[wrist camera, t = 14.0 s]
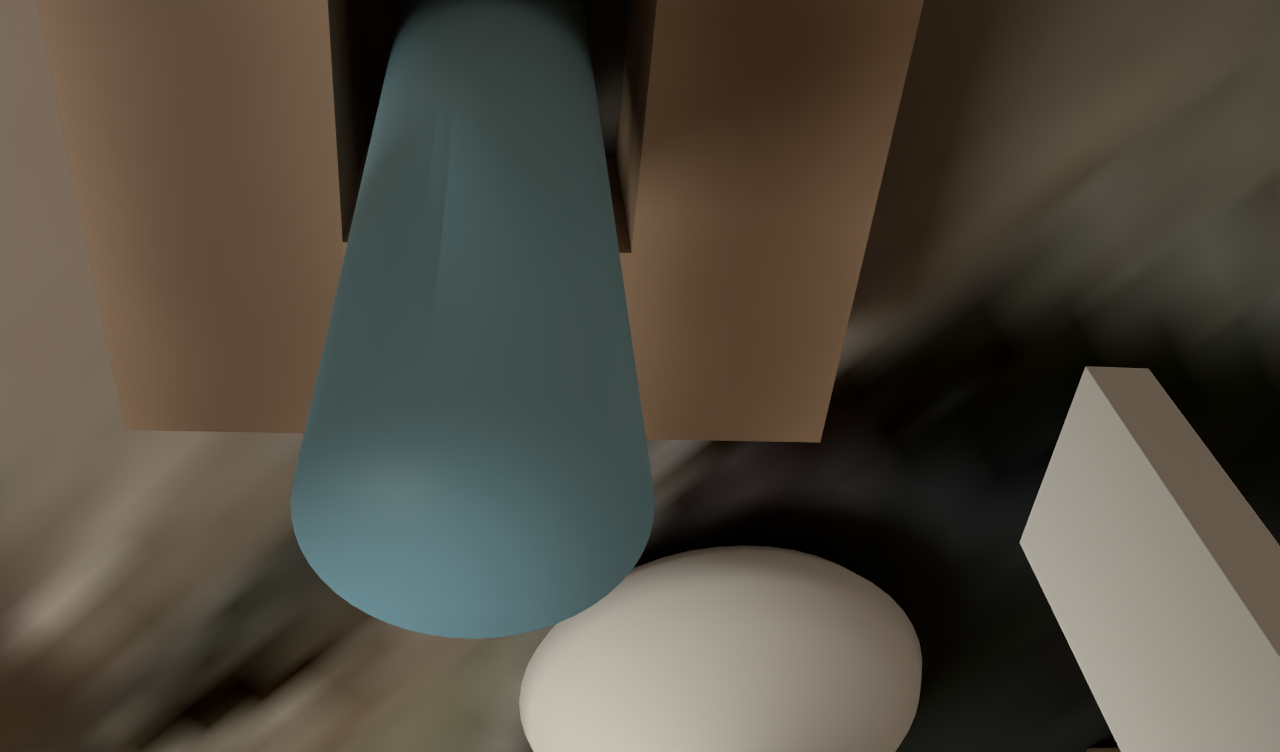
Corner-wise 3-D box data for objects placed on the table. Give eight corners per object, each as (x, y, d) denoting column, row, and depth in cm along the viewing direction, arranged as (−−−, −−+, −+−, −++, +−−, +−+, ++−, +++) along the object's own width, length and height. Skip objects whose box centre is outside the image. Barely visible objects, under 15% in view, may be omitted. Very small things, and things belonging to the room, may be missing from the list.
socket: (921, -352, 20) (1000, -325, 17) (784, 335, 28) (819, 442, 25) (46, -444, 18) (-55, -435, 15) (172, 317, 26) (125, 429, 23)
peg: (592, -61, 22) (674, 378, 11) (579, 117, 24) (636, 638, 13) (398, -76, 22) (275, 365, 10) (402, 107, 24) (303, 638, 13)
